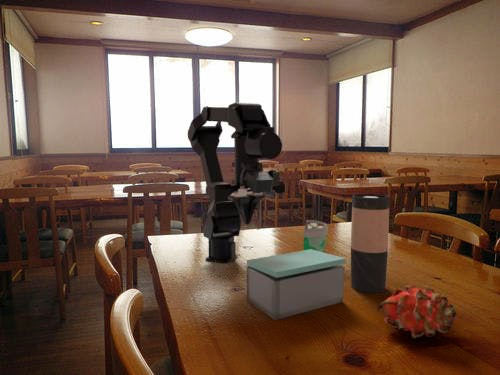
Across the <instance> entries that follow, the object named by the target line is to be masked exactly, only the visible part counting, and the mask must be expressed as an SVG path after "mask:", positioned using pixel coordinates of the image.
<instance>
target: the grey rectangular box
mask: <svg viewBox="0 0 500 375" xmlns="http://www.w3.org/2000/svg"><path fill="white" fill-rule="evenodd" d="M344 269H345V267H344V266H342V265H336V266H332V267H327V268H322V269H317V270H312V271H308V272H303V273H298V274H293V275H288V276H284V277H279V278H276V277H274V276H271V275H269V274H266V273H264V272H262V271H259V270H257V269H254V268H252V267H250V266H247V265H246V301H247V302H248V303H250V304H251V305H253V306H254V307H255V308H257V309H259V310H260V311H261V312H262V313H263V314H266V315H267V316H268V317H269V318H271V319H272V320H274V321H277V320H281V319H284V318H288V317H292V316H297V315H300V314H302V313H306V312H307V313H308V312H310V311H314V310H318V309H321V308H325V307H328V306H333V305H336V304H340V303H343V302H344V301H343V300H344V276H345V274H344V273H345V271H344Z"/></svg>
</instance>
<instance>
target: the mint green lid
mask: <svg viewBox="0 0 500 375" xmlns="http://www.w3.org/2000/svg"><path fill="white" fill-rule="evenodd" d="M346 259H347V258H345V257H343V256H342V257H341V256H337V255H334V254H330V253H327V252H324V253H323V252H320V251H316V250H312V249H309V250H299V251H292V252H288V253H280V254H276V255H271V256H270V255H269V256H264V257H257V258H253V259H246V267H247V266H250V267H252V268H254V269H257V270H259V271H262V272H264V273H266V274H269V275H271V276H274V277H276V278H279V277H284V276H288V275H293V274H298V273H303V272H308V271H312V270H317V269H322V268H327V267H332V266H336V265H339V266H342V265H344V264H345V265H346Z"/></svg>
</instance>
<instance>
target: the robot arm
mask: <svg viewBox="0 0 500 375" xmlns="http://www.w3.org/2000/svg"><path fill="white" fill-rule="evenodd" d="M262 108H263V107H262V105H261V104H260V103H253V102H237V101H236V102H233V103H231V104H229V105H228V106H227V107H226V106H225V107H224V106H215V105H206V106H203V108H202V109H201V112H200V113H199V114H198V115H197V116H195V118H193V119H192V120H191V122H190V125H189V127H188V130H187V140H188V141H189V143H190V145H191V148H192V150H193V152H195V153H196V154H197V155H198V156H199V159H200V162H201V163H200V164H201V167H202V172H203V175H204V176H203V177H204V180H205V184H206V186H205V196H208V197H209V202H210V204H209V207H208V211H207V213H206V216H207V219H206V221H205V223H204V225H203V227H202V235H203V237H204V238H206V239H208V240H207V241H208V256H207V257H205V261H208V262H209V261H211V262H217V263H223V264H227V263H229V262H230V261H232V260H234V259H236V258H237V257H238V255H237V252H236V250H237V246H236V245H237V244H236V242H235V237H239V236H240V232H241V226H242V222H243V224H244V225H251V224H250V223H251V221H252V218H253V216H254V212H255V209H256V208H257V205H258V204H259V203H260V201H261V200H262V199H264V198H266V197H267V195H266V194H263V193H272V191H273V193H274V194H281V193H283V194H285V193H286V192H287V191H286V190H287V186H286V185H287V184H286V182H285V181H284V180H281V179H280V178H281V176H280V171H279V170H278V169H270V170H269V171H267V170H266V171H264V164H263V162H260V159H261V160H274V159H276V158H277V157H279V156H280V154H281V153H282V149H283V142H282V140H281V138H280V136H279V134H277V133H276V132H275V127H274V126H272V125H271V124H270V122H269V120H268V118H267V115H266V113H265V110H264V109H262ZM207 122H216V124H207ZM222 123H227V125H228V126H230V127H232V128H234V129H235V130H234V132H233V133H232V134H231V136H230V138H231V139H234V161H232V162H231V167H233V168H234V179H231V183H227V182H225V181H224V180H225V179H224V176H223V172H222V169H221V165H220V161H219V160H220V159H219V156H218V152H217V149H218V146H219V144H220V141H221V140H220V137H221V135H222V133H223V126H222ZM230 198H231V199H232V200H231V199H230Z"/></svg>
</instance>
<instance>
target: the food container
mask: <svg viewBox="0 0 500 375" xmlns="http://www.w3.org/2000/svg"><path fill="white" fill-rule="evenodd" d="M302 235H303V237H302V238H303V240H302V241H303V245H302V246H303V248H302V249H303V250H309V249H312V250H316V251H320V252H323V253H325V249H326V240H327V239H326V237H327V235H329V227H328V226H327V223H325V222H323V221H318V220H312V219H311V220H310V219H306V220H305V227H304V228H303V234H302ZM303 250H302V251H303Z"/></svg>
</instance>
